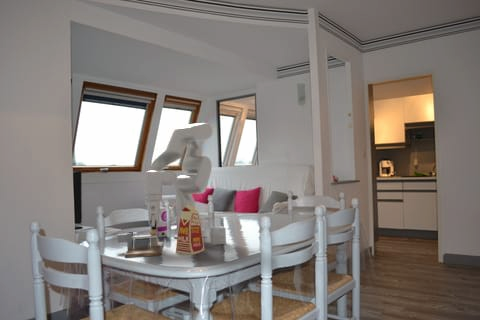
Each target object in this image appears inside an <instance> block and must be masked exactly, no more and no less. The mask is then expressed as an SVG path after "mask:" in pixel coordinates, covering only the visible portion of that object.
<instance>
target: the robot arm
mask: <svg viewBox="0 0 480 320" xmlns="http://www.w3.org/2000/svg"><path fill="white" fill-rule="evenodd" d="M213 131H214V130H213V127H212V126H211V124H209V123H207V122H201V123H199V122H198V123H190V124H186V125H184V126H179V127H176V128H175V129H174V130H173V132H172V135H171V137H170V139H169V141H168V144H167V146H166V149H165V150H164V151H163V152H161V154H159V155H158V156H157V157H156V158H155V159H154V161H153V162H151V165H150V168H149V169H148V170H147V171H145V173H144V199H145V201H144V202H145V203H146V202H147V217H148V224H149V225H150V231H151V230H152V229H157V231H158V223H160V222H161V210H160V207H161V202H163V187H171V186H173V189H174V194H175V209H176V211H175V213H176V218H175V219H176V234H174V235H173V238H174V239H176V240H177V237H178V230H179V223H180V218H181V212H182V210H183V209H184V208H185V204H187V205H189V206H195V207H196V201H195V198H194V197H193V195H195V194H197V195H200V194H201V195H202V194H203V193H204V192H206V190H207V188H208V186H209V185H208V184H209V181H210V176H211V174H212V167H213V164H212V161H211V159H210V157H208V156H206V155H203V147H202V145H201V144H200V143H199V142H203V141H206V140H208V139H210V138H211V137H212V136H213ZM185 150H186V151H185ZM184 152H185V154H184ZM183 155H184V158H183V159H182V160H183V161H182V164H181V171H182V173H183V174H181V175H178V176H177V174H176V172H175V171H174V170H170V169H168V170H167V169H165V168H166V167H168V166H169V165H171V164H173V163H175V162H178V160H180V159H181V158H182V157H183ZM164 169H165V170H164ZM205 230H206V229H205V228H202V233H203V234H205V232H206V231H205Z"/></svg>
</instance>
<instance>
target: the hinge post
mask: <svg viewBox="0 0 480 320" xmlns="http://www.w3.org/2000/svg"><path fill="white" fill-rule="evenodd" d="M126 234H127V242H126V243H127V246H126V247H127V248H126V249H127V250H132V248H133V244H134V239H132V236H134V231H128V233H126Z"/></svg>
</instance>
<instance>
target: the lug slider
mask: <svg viewBox="0 0 480 320" xmlns="http://www.w3.org/2000/svg"><path fill="white" fill-rule="evenodd" d="M156 234H157V237H156V238H150V243H151V246H158V242H159V240H158V239H159V238H158V231H157V229H152V230H151V229H150V231H149V235H156Z"/></svg>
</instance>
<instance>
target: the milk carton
mask: <svg viewBox="0 0 480 320" xmlns="http://www.w3.org/2000/svg"><path fill="white" fill-rule="evenodd" d="M202 229H203V227H202V221H201V217H200V212H199V211H198V210H197V208H196V205H195V206H189V205H187V204H185V208H184V209H183V210H182V212H181V218H180V223H179V230H178V237H177V239H176V245H175V253H177V254H184V255H191V256H193V255H197V254H199V253H201V252H204V251H205V241H204V235H203V234H204V233H202Z"/></svg>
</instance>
